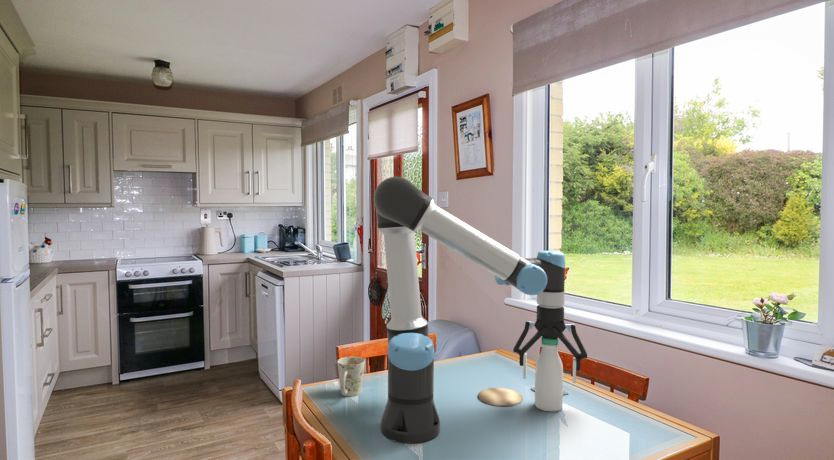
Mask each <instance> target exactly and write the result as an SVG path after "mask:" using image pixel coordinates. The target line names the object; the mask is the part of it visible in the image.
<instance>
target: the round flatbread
mask: <svg viewBox="0 0 834 460" xmlns="http://www.w3.org/2000/svg"><path fill="white" fill-rule="evenodd" d="M477 397H478V399H479V401H481V403H484V404H487V405H490V406H494V407H513V406H518V405H519V404H521V403H522V401H523V399H524V398H523V395H522V394H521V393H520V392H518V391H516V390H514V389H509V388H505V387H488V388H483V389H482V390H480V391H479V392H478V396H477ZM517 404H518V405H517Z"/></svg>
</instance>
